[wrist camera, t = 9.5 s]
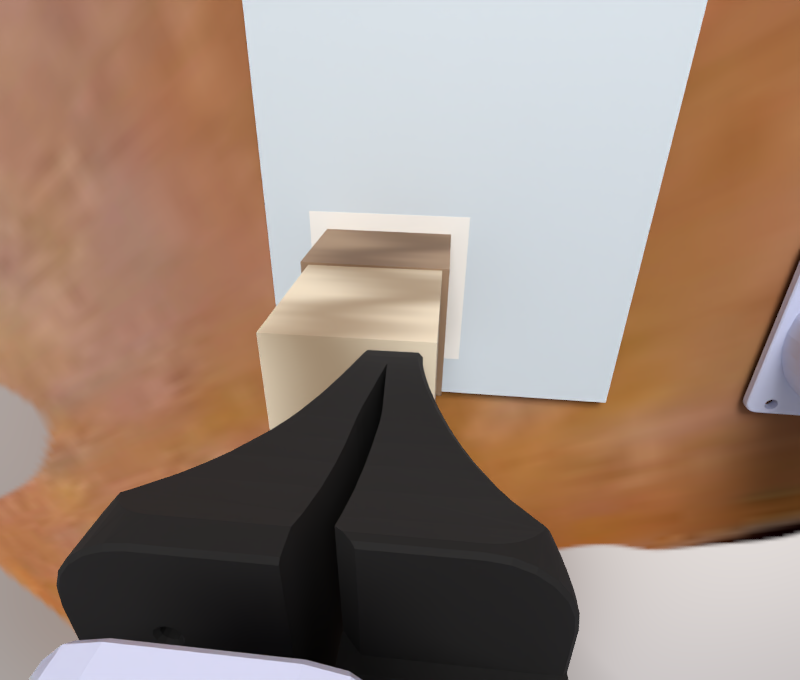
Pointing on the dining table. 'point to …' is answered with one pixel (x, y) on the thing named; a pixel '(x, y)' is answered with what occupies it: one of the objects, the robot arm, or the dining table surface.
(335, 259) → the walnut base block
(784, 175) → the dining table surface
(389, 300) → the birch block
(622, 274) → the pale grey rectangular board
